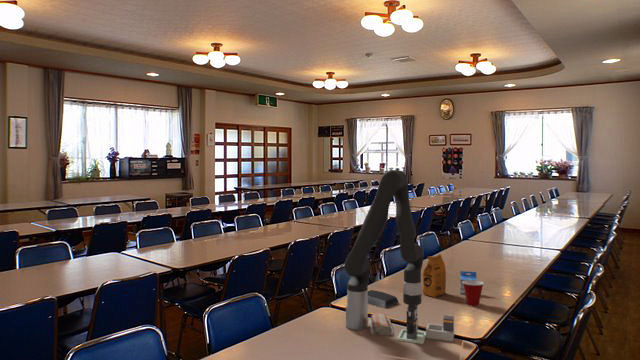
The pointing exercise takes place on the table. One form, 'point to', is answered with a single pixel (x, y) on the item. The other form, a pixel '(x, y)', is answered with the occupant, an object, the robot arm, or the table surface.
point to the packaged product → (380, 324)
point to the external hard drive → (381, 299)
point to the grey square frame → (441, 329)
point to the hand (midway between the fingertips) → (412, 330)
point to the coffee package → (434, 277)
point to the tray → (419, 339)
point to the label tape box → (466, 277)
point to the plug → (415, 334)
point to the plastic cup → (473, 291)
